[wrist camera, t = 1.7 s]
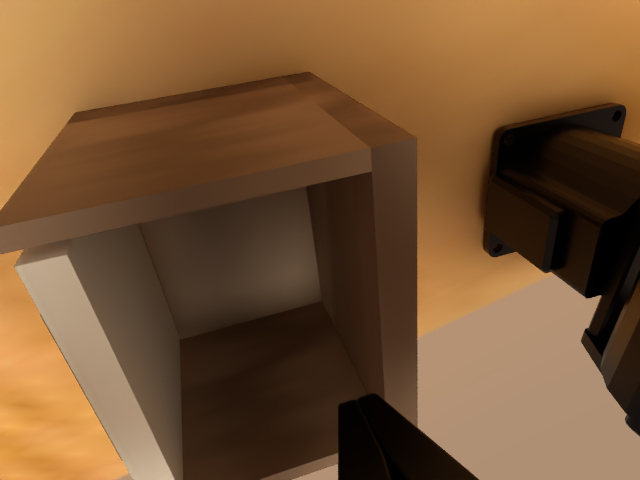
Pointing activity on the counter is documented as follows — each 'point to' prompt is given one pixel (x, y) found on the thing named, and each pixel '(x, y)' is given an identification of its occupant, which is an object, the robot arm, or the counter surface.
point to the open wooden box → (253, 256)
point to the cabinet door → (115, 341)
